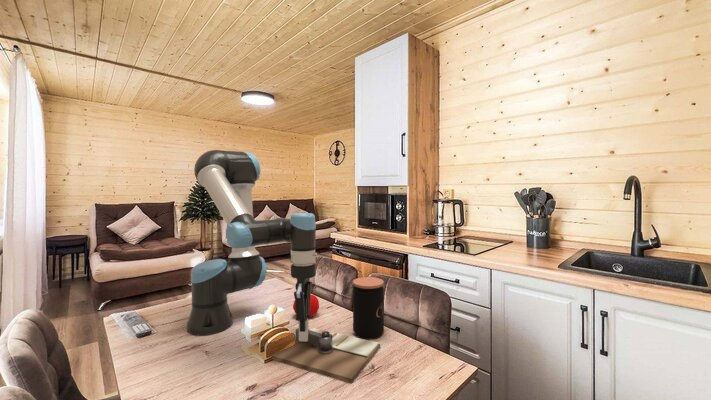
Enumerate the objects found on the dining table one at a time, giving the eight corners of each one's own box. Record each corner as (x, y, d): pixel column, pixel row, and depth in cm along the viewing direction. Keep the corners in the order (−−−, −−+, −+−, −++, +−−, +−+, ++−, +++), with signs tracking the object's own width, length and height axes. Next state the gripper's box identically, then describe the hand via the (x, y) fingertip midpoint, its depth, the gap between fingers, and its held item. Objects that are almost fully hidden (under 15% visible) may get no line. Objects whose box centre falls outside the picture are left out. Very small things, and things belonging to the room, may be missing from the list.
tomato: (323, 316, 124) (323, 295, 124) (299, 323, 119) (298, 300, 118) (312, 309, 132) (312, 289, 132) (289, 314, 126) (289, 293, 126)
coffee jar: (382, 341, 104) (381, 286, 103) (350, 338, 106) (349, 285, 105) (385, 327, 114) (385, 277, 114) (356, 324, 117) (356, 276, 116)
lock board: (272, 359, 93) (272, 353, 93) (310, 331, 111) (310, 326, 111) (351, 383, 82) (351, 376, 82) (380, 347, 100) (380, 342, 100)
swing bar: (334, 346, 97) (334, 331, 97) (327, 352, 93) (327, 337, 93) (301, 336, 104) (301, 322, 103) (293, 341, 100) (293, 327, 100)
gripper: (310, 268, 91) (311, 350, 91) (319, 259, 104) (319, 332, 104) (285, 267, 92) (285, 349, 92) (296, 259, 104) (297, 331, 104)
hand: (303, 340), depth 98 cm, fingers closed
